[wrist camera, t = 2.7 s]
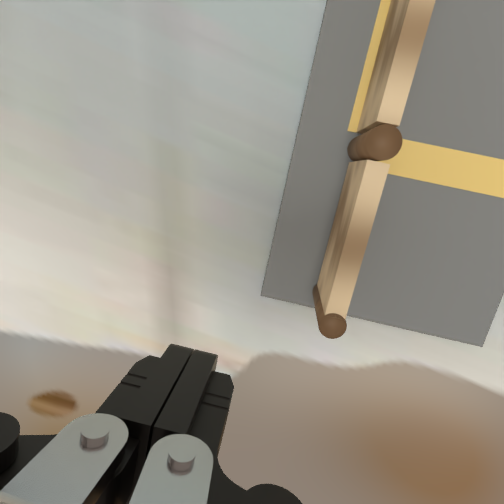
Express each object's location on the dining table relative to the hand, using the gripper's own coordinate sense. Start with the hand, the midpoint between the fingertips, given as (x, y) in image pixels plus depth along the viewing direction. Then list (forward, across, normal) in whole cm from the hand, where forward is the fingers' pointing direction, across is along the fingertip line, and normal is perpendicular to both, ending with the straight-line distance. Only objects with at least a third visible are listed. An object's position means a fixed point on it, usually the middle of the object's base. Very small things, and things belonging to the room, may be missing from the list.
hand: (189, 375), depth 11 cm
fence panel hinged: (+16, -6, -3) cm, 17 cm away
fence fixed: (+16, -6, -14) cm, 23 cm away
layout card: (+17, -10, -9) cm, 22 cm away
